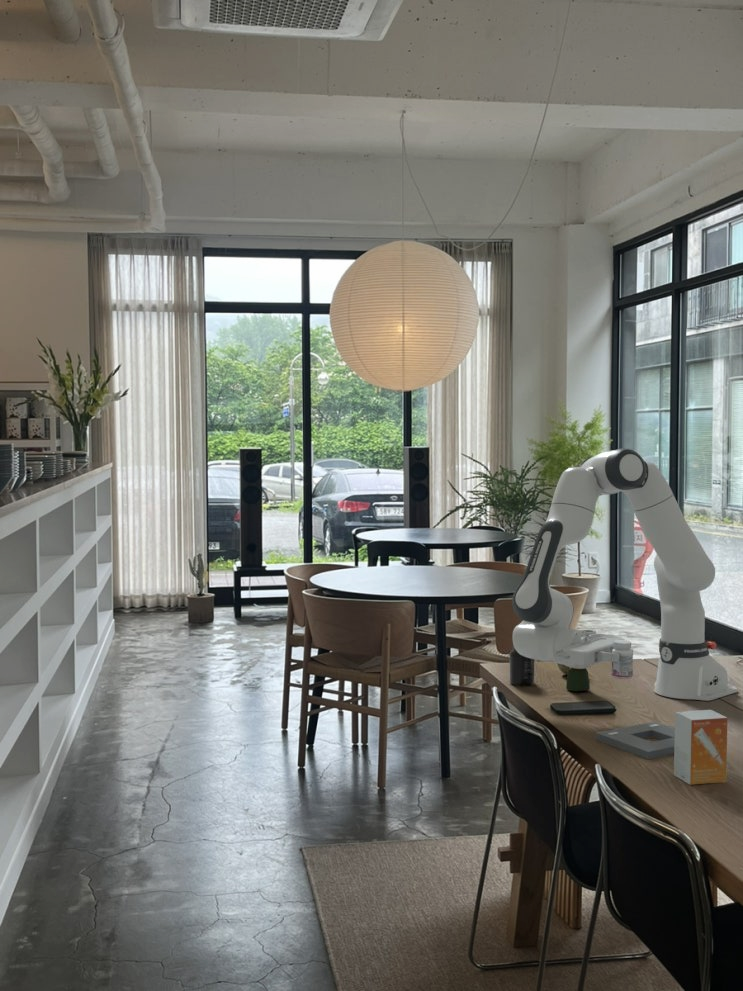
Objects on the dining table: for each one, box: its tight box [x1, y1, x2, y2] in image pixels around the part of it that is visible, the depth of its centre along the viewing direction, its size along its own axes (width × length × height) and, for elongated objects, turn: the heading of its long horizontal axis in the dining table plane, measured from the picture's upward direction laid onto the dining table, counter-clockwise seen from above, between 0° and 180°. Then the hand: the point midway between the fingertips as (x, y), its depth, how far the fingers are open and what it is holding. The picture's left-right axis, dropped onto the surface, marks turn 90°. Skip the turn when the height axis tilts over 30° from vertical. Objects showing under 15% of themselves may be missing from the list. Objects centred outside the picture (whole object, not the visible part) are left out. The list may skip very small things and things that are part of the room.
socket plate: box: [595, 721, 675, 760], centre depth 219 cm, size 18×16×2 cm
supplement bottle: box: [509, 644, 536, 687], centre depth 274 cm, size 7×7×12 cm
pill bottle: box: [611, 639, 634, 680], centre depth 232 cm, size 5×5×8 cm
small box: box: [673, 709, 728, 786], centre depth 196 cm, size 8×6×13 cm
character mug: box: [565, 665, 592, 693], centre depth 266 cm, size 11×7×13 cm, turn 171°
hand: (625, 655), depth 231 cm, fingers closed on pill bottle, 5 cm apart
